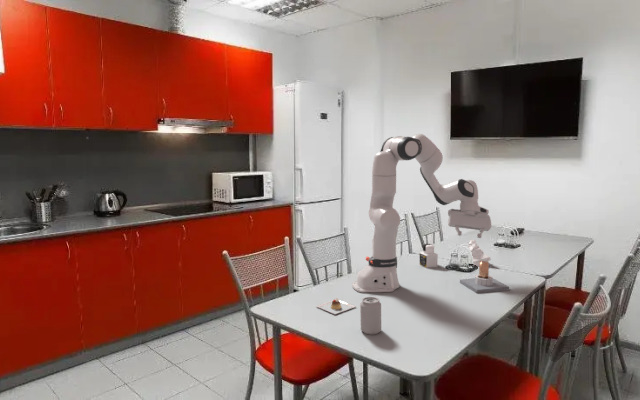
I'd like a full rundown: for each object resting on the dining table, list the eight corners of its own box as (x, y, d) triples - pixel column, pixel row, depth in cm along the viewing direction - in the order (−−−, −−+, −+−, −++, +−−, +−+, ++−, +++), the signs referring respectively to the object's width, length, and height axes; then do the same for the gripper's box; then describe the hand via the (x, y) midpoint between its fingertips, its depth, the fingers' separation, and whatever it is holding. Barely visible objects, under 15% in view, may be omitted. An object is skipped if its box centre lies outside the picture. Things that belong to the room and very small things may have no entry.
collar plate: (476, 293, 188) (476, 283, 187) (459, 282, 202) (459, 273, 202) (509, 289, 190) (509, 280, 190) (490, 279, 205) (490, 270, 205)
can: (379, 326, 157) (379, 295, 155) (383, 335, 149) (382, 302, 148) (359, 327, 156) (358, 296, 155) (362, 336, 149) (361, 303, 147)
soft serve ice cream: (469, 270, 226) (462, 245, 226) (461, 265, 241) (454, 241, 241) (492, 264, 225) (484, 239, 225) (483, 259, 240) (476, 235, 240)
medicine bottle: (419, 264, 234) (419, 243, 233) (430, 263, 236) (430, 242, 235) (426, 268, 227) (426, 246, 226) (437, 266, 229) (437, 245, 228)
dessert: (316, 308, 177) (315, 297, 176) (337, 301, 184) (336, 290, 184) (334, 316, 168) (334, 305, 167) (356, 308, 175) (356, 297, 175)
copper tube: (482, 284, 194) (482, 263, 193) (477, 282, 198) (477, 261, 197) (490, 284, 195) (490, 263, 193) (485, 281, 198) (485, 260, 197)
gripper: (449, 205, 208) (449, 231, 202) (491, 210, 207) (493, 236, 200) (446, 211, 214) (446, 236, 208) (487, 215, 212) (488, 241, 206)
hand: (469, 236), depth 204 cm, fingers open, 8 cm apart
